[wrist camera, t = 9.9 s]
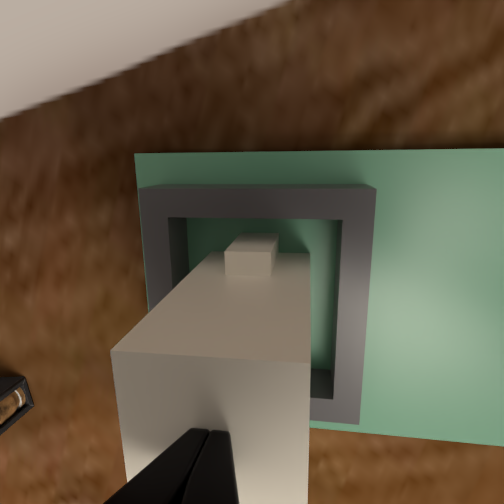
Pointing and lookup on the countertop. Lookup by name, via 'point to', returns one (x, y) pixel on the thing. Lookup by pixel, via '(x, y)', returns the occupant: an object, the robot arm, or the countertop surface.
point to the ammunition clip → (13, 401)
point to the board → (360, 272)
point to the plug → (226, 368)
